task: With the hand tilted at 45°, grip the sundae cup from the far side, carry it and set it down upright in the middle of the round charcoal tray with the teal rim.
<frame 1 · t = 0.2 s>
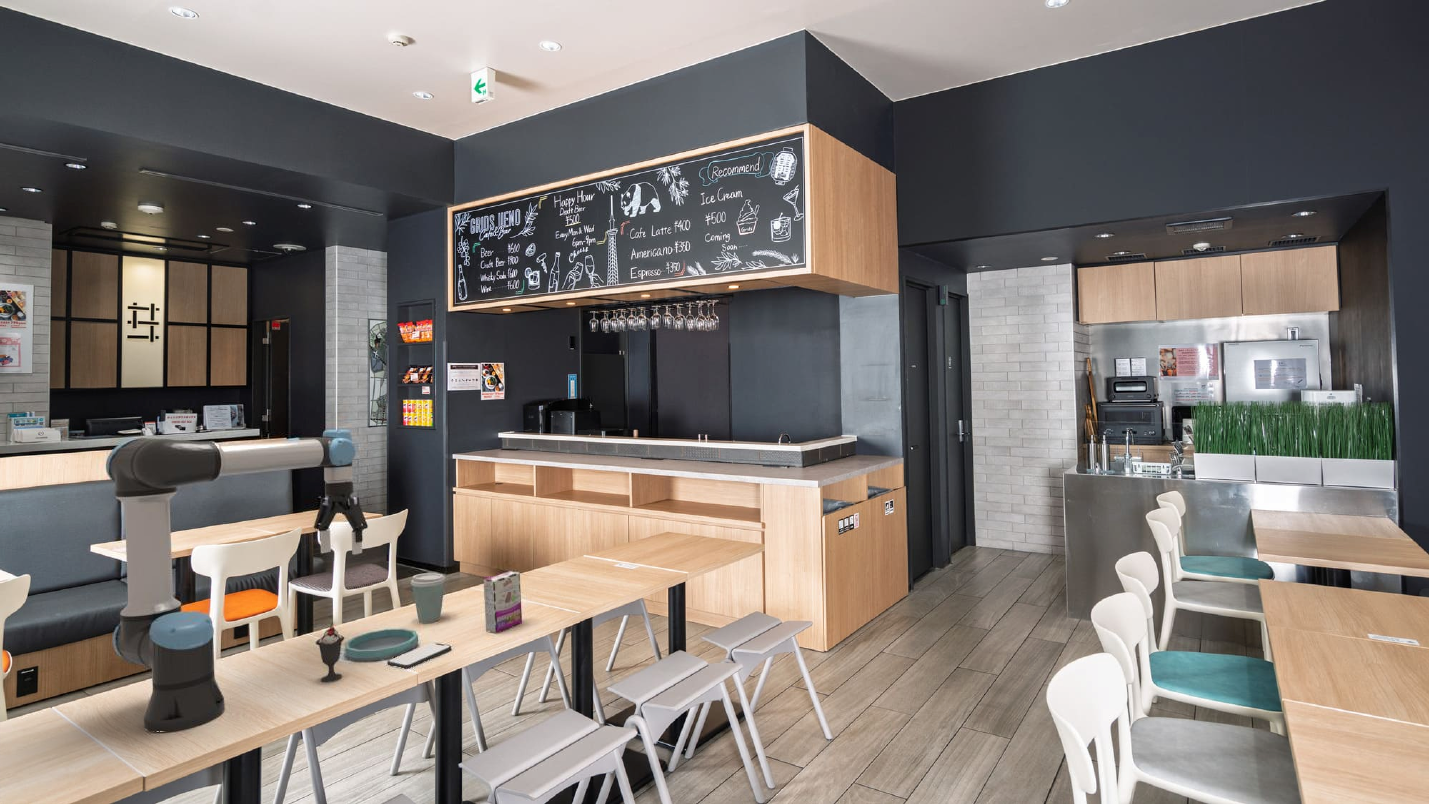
hand: (341, 553, 217), 27 cm above the table, tool pointing down, fingers open, 13 cm apart
disposable coffee cup: (429, 621, 239), on the table
candy bar box: (503, 628, 229), on the table
smartphone: (420, 659, 205), on the table
sundae: (331, 679, 191), on the table
round tray: (382, 649, 212), on the table
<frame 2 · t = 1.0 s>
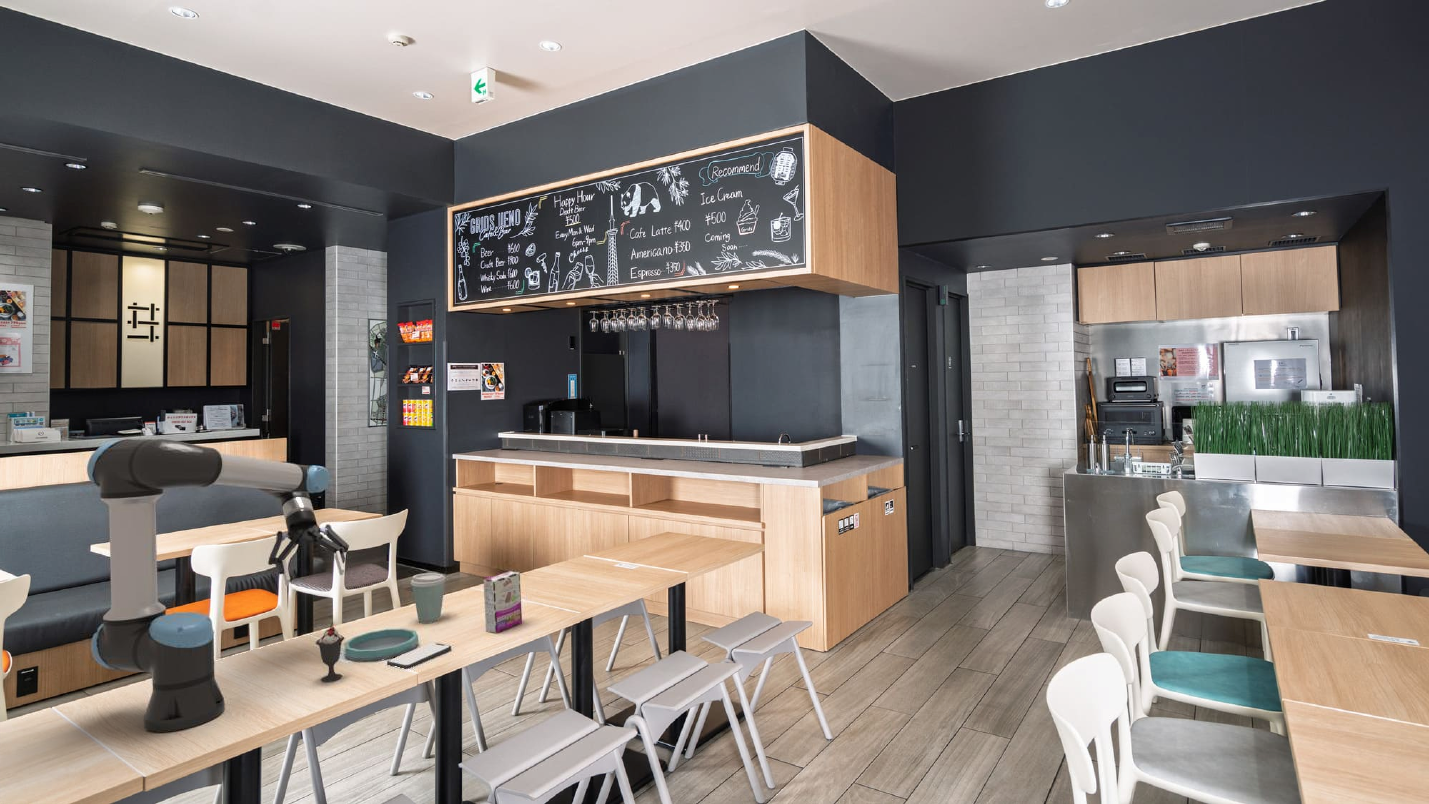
hand: (315, 577, 202), 24 cm above the table, tool tilted 45°, fingers open, 13 cm apart
nothing on the table moved.
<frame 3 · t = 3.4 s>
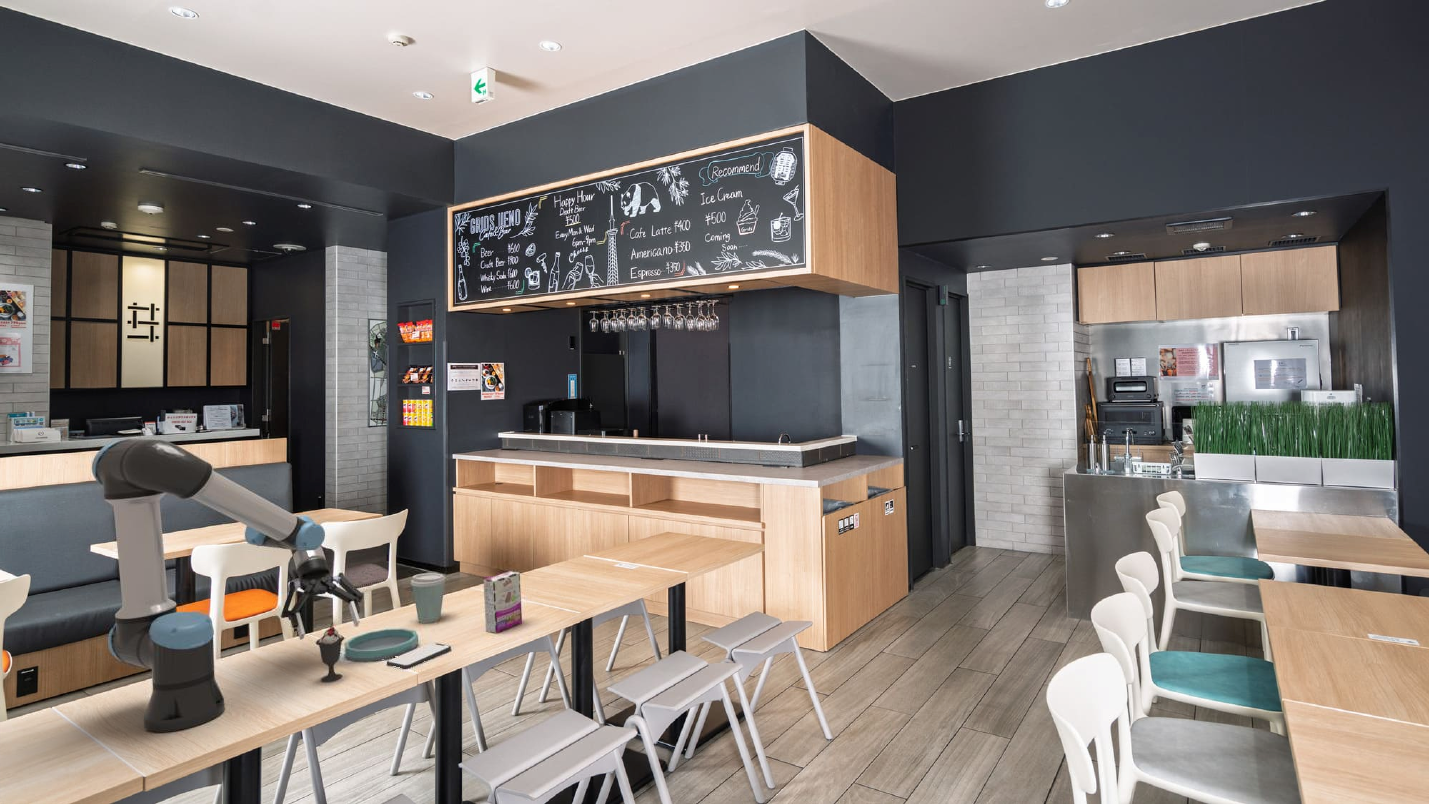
hand: (330, 630, 195), 11 cm above the table, tool tilted 45°, fingers open, 13 cm apart
nothing on the table moved.
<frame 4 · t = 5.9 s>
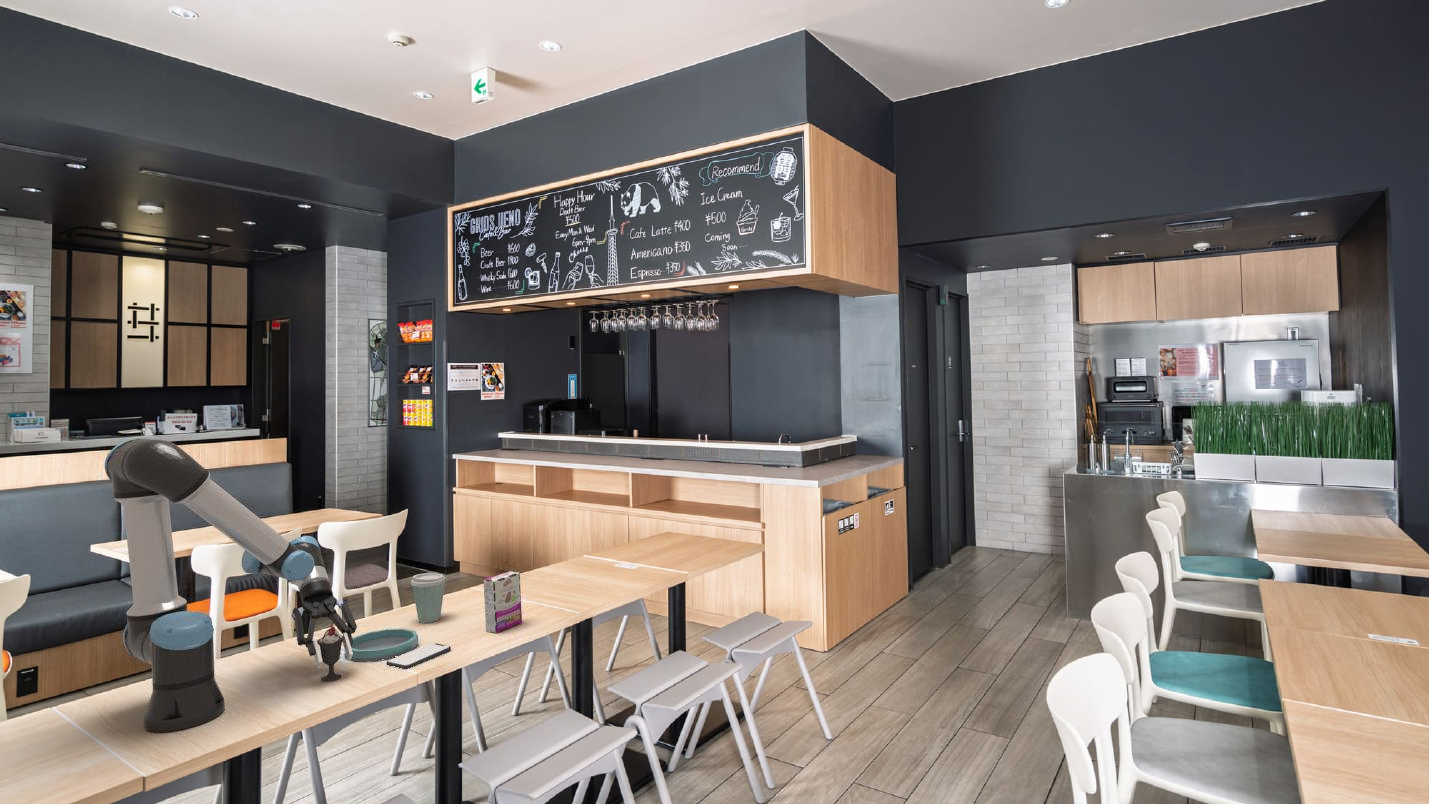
hand: (335, 660, 188), 5 cm above the table, tool tilted 45°, fingers closed on sundae, 7 cm apart
sundae: (331, 678, 191), on the table, touching gripper
everything else where it was.
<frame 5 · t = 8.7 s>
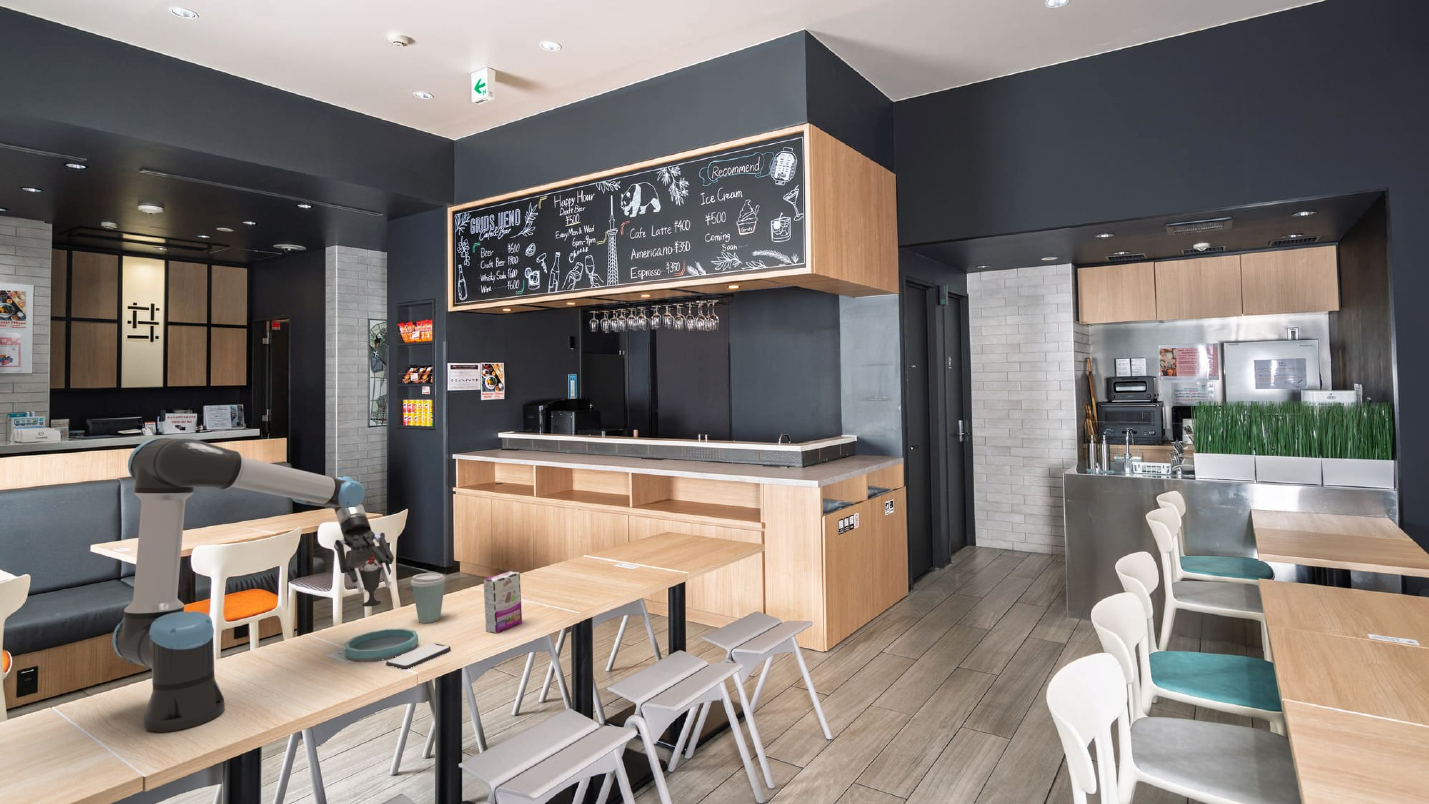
hand: (375, 587, 204), 20 cm above the table, tool tilted 45°, fingers closed on sundae, 7 cm apart
sundae: (372, 604, 207), point 15 cm above the table, touching gripper
everything else where it was.
when the fingers open (8 cm above the table, at t = 11.5 s): sundae drops 1 cm, resting on round tray.
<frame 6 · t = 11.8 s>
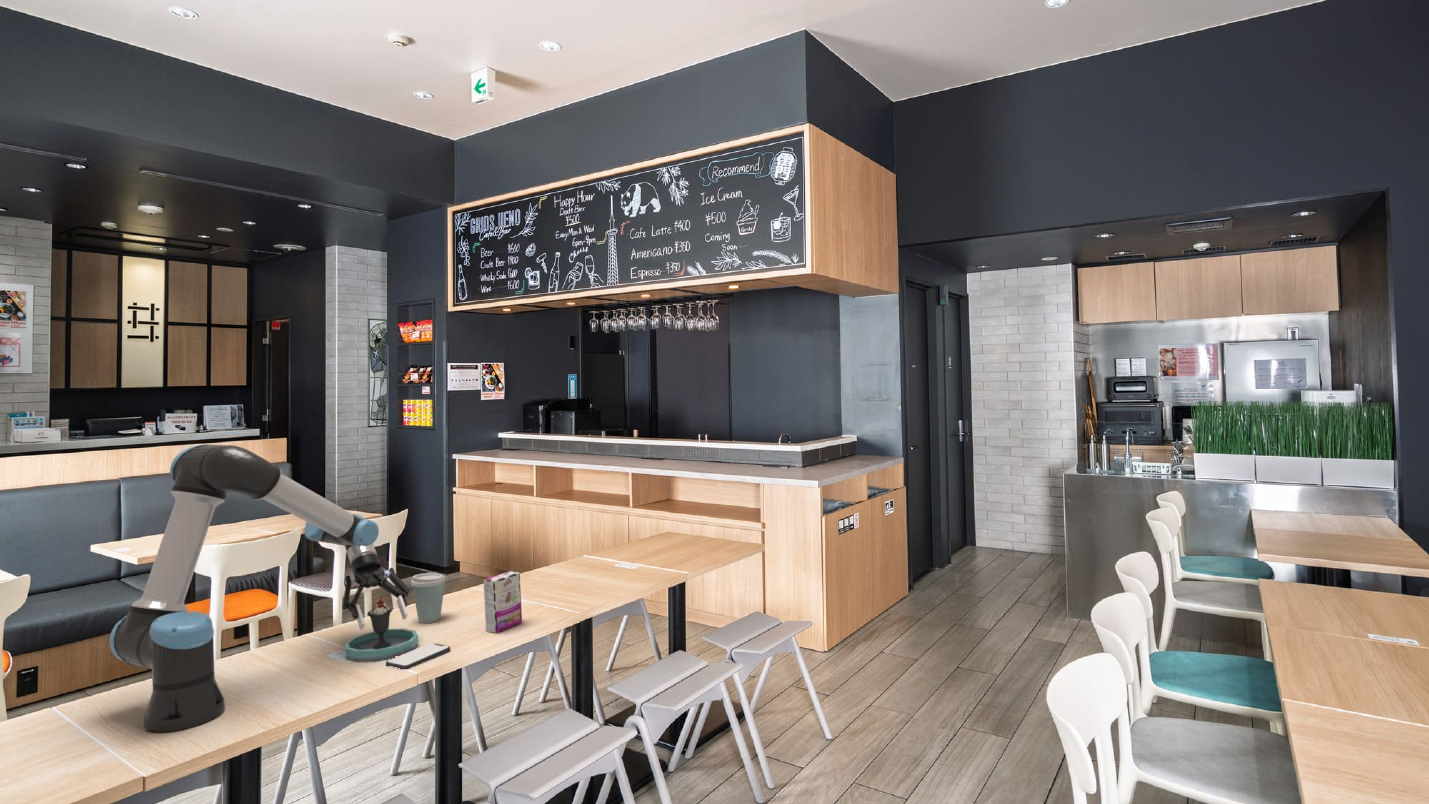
hand: (384, 621, 210), 9 cm above the table, tool tilted 45°, fingers open, 11 cm apart
sundae: (382, 646, 212), point 1 cm above the table, touching round tray
everything else where it was.
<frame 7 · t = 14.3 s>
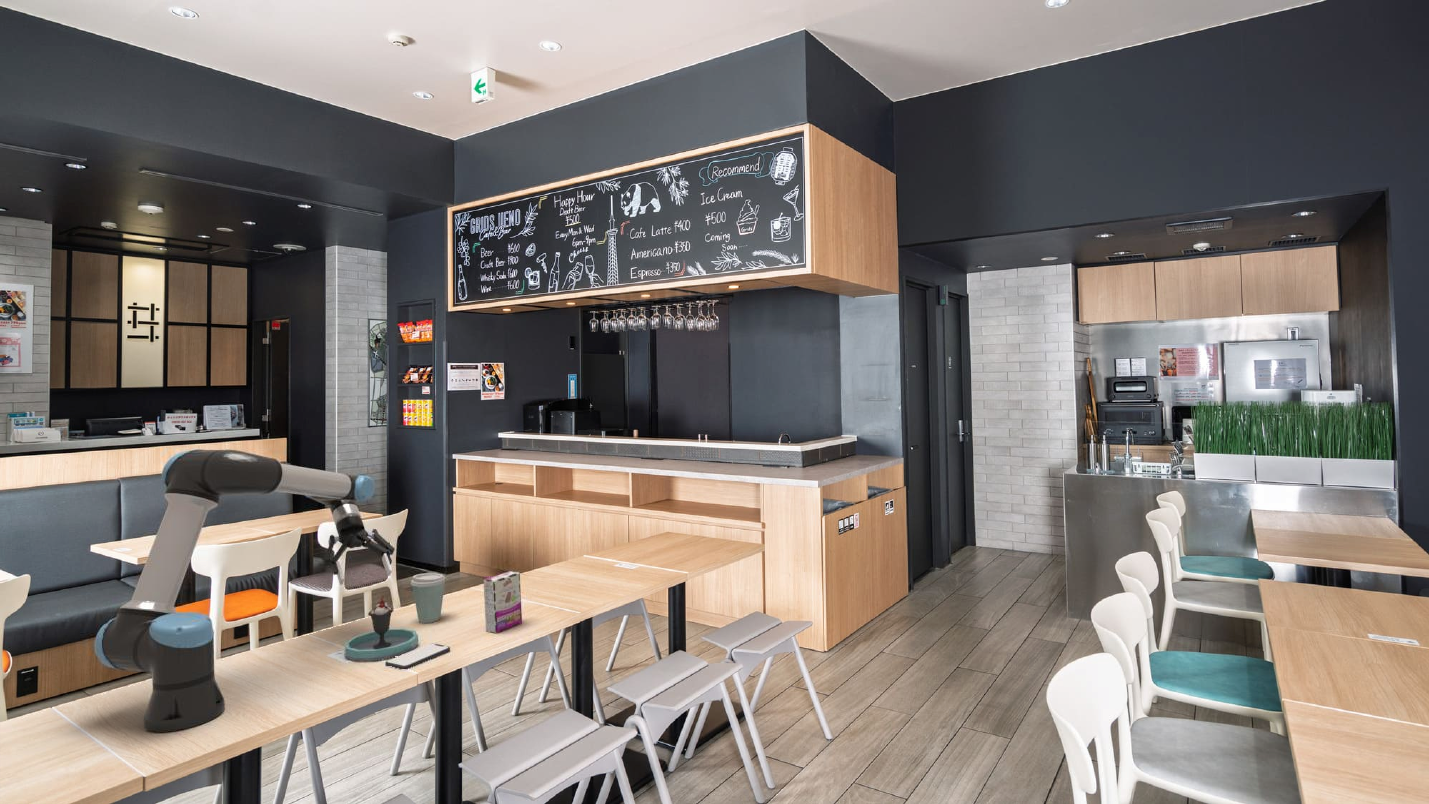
hand: (366, 577, 219), 19 cm above the table, tool tilted 45°, fingers open, 13 cm apart
nothing on the table moved.
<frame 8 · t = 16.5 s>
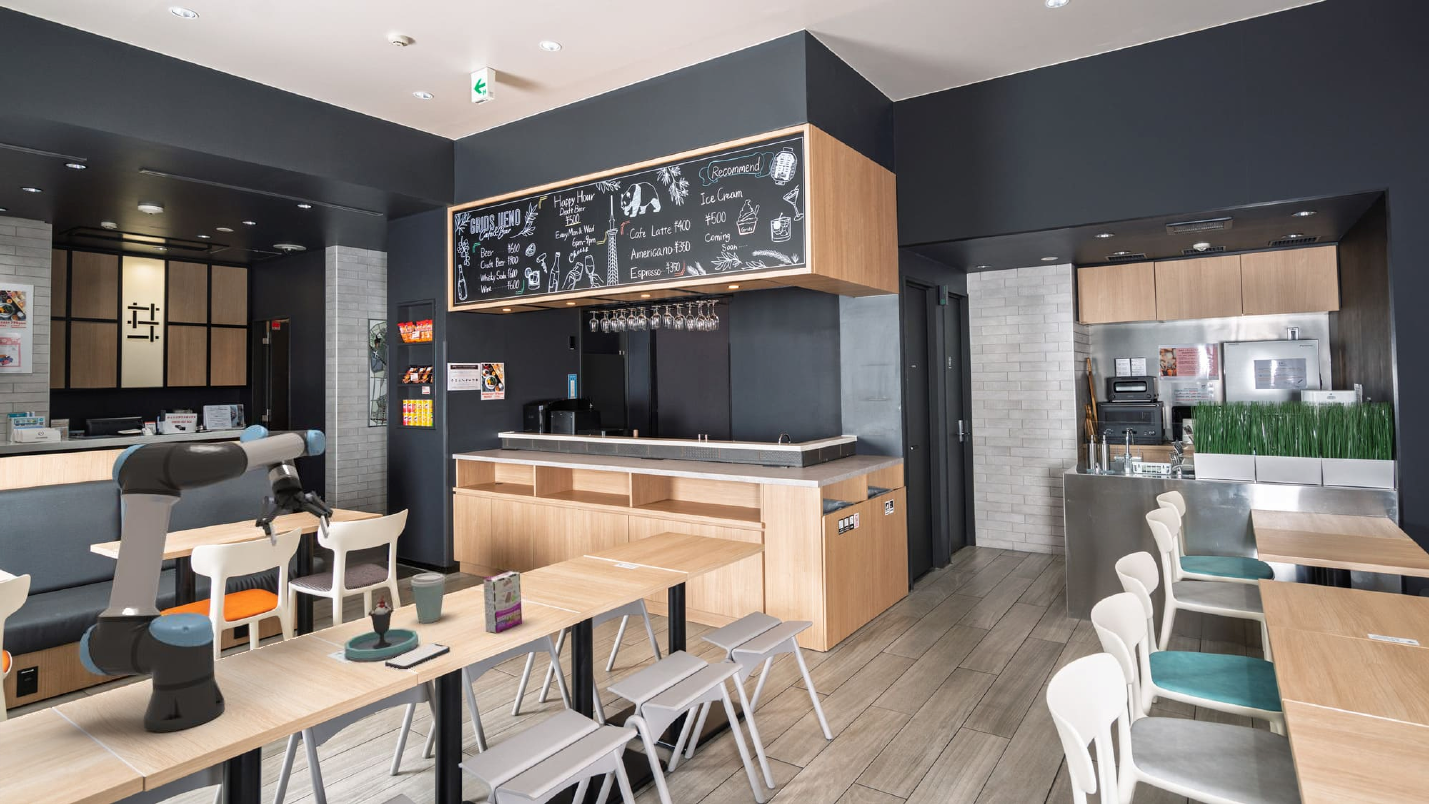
hand: (301, 539, 212), 33 cm above the table, tool tilted 45°, fingers open, 13 cm apart
nothing on the table moved.
at the end: sundae inside the target area on the round tray (0.1 cm from its centre), point 0.8 cm above the round tray's base; sundae tilted 0°; the gripper is holding nothing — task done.
